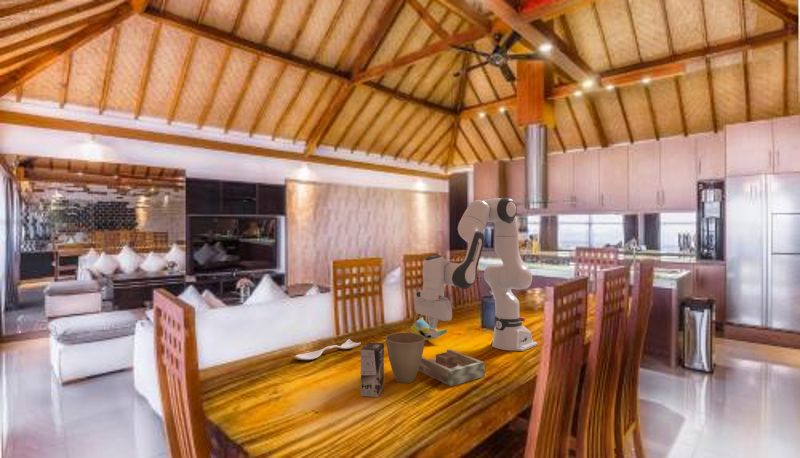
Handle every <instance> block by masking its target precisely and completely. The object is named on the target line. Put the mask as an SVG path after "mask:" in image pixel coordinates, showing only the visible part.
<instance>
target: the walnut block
mask: <svg viewBox="0 0 800 458" xmlns="http://www.w3.org/2000/svg"><path fill="white" fill-rule="evenodd" d="M435 358H436V363H438V364H440V365H443V366H445V367H447V368H451V367H455V366H457V356H456V355H453V354H451V353H448V352H447V351H446V352H442V353H438V354H435Z"/></svg>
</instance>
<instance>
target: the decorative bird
mask: <svg viewBox="0 0 800 458" xmlns="http://www.w3.org/2000/svg"><path fill="white" fill-rule="evenodd" d="M406 329H407V330H408V329H411V331H408V333H416V334H420V335H423V336H424V337H425V341H431V340H436V339H439V338H440V337H441V336H443V335H445V334H447V333H448V330H447V328H446V329H438V328H436V329H433V328H430V327H429V323H428V322H426V321H425V319H424V317H421V318H419V319H417V320H416V321H415V322H414V323H413V324H412V325H411V326H407V327H406Z"/></svg>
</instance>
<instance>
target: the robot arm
mask: <svg viewBox="0 0 800 458" xmlns="http://www.w3.org/2000/svg"><path fill="white" fill-rule="evenodd" d="M517 211H518V207H517V204H516V203H515V201H514V200H513V199H512V198H510V197H509V198H508V197H501V198H500V197H494V198H488V199H476V200H473V201H471V202H470V204H469V205H468V206H467V208H466V209H465V211H464V213H463V214H462V216H461V218H460V220H459V222H458V226H457V231H458V232H457V233H458V235H459V236H460V238H462V240H464V241H465V242H466V243H467V244H468V248H467V251H466V254H465V256H464V260H463V261H462V262H460V263H456V262H451V261H449V260H447V259H445V258H444V257H443V255H440V254H431V255H428V256H426V257H424V260H423V264H422V279H423V284H422V289H421V290H417V291H416V292H415V293H414V294H415V303H414V304H415V312H416V314H419V315H422V316H425V317H427V318H426V319H427V321H428V322H427V323H428V324H429V327H430V328H433V329H438V324H439V321H443V322H449V321H451V320H452V318H453V309H452V304H451V300H450V299H449V298H448V297H447V296H445V285H447V286H452V287H456V288H459V289H463V290H467V289H470V288H471V287H472V286H473V285H474V284H475V281H476V278H477V272H478V266H479V262H480V259H481V255H482V253H483V250H484V249H483V248H484V244H485V235H484V230H485V227H486V225H487V224H488V223H493V224H494V233H493V234H494V253H495V255H496V256H498V257H499V258H500V259H501V262H502V264H501V263H494V264H490V265H487V266H486V267H485V269H484V270H483V271H484V272H483V278H484V281H485V283H487V285H488V286H489V288H490V289H491V292H492V295H493V298H494V308H495V310H494V311H495V312H494V313H495V316H494V327H493V328H494V329H493V339H492V340H491V342H492V345H491V346H492V347H493V348H495V349H497V350H501V351H502V350H503V351H517V352H524V351H526V350H529V349H531V348H533V347H536V346H538V342H536V341H535V340H533V337H532V336H533V335H532V332H531V331H530V330H529V329H528V328H527V327H526V326H525V325H524V324H523V322H526V320H527V319H526V317H524V316H521V317H520V301H519V299H518V298H517V297H516V296H515V294H514V293H513V292H512V290H526V289H528V288H530V286H531V284H532V282H533V273H532V272H531V270H530V269H529V268H528V267H527V266H526V265H525V263H524V261H523V260H522V257H521V253H520V247H519V243H520V242H519V228H518V222H517V217H516V216H517Z"/></svg>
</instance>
